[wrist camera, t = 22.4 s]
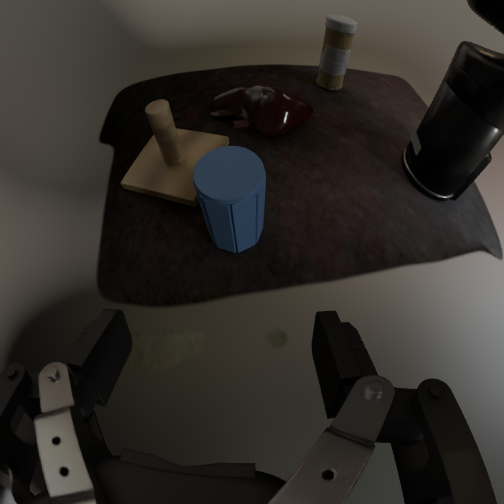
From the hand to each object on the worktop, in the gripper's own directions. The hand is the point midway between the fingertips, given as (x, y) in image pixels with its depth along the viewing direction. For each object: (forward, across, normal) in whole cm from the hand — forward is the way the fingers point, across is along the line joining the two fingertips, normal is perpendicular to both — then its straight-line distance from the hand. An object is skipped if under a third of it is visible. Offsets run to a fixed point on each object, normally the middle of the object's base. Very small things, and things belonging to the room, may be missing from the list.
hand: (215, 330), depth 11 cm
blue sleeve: (+18, 0, +1) cm, 18 cm away
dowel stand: (+24, +8, -5) cm, 26 cm away
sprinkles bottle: (+38, -15, -18) cm, 44 cm away
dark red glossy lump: (+30, -2, -11) cm, 32 cm away
